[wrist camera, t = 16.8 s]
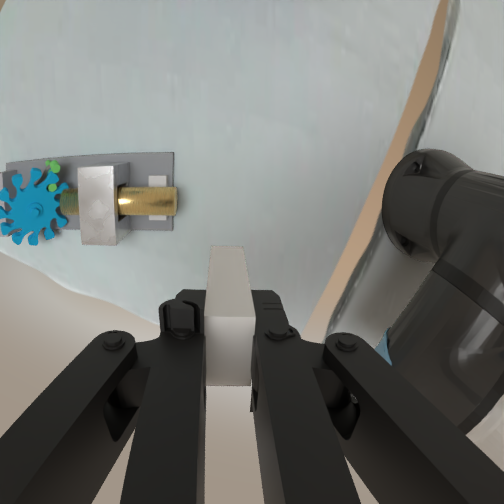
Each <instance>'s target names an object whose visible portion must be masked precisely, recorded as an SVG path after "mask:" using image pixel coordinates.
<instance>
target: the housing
mask: <svg viewBox="0 0 504 504" xmlns="http://www.w3.org/2000/svg"><path fill="white" fill-rule="evenodd" d="M47 160H50V161H53V160H57V161H58V163H59V165H60V171H59V172H58V178H59V181H58V182H57V183H56V186H57V187H58V186H60V185H61V184H62V183H64V182H66V183H67V184H68V187H69V189H70V188H78V169H77V168H78V167H83V166H87V165H92V164H97V163H115V162H130V187H173V162H174V152H165V153H121V154H99V155H83V156H69V157H57V158H47V159H37V160H28V161H19V162H11V163H6V171H4V172H0V191H1V190H2V189H3V188H4V187H6V188H7V189H8V191H9V197H10V198H12V199H13V198H15V197H16V195H17V190H16V187H15V186H14V185H13V183H12V176H14V175H16V174H22V177H23V182H22V184H21V186H20V188H21V189H24V188H26V187H27V185H28V183H29V181H30V177H31V174H30V171H31V169H32V168H38V169H40V170H41V172H42V173H43V171H44V170H45V168H46V164H45V162H46V161H47ZM37 181H38V180H36V181H35V182H34V185H35V184H36V182H37ZM60 196H61V194H56V195H55V196H54V198H56V199H58V200H60ZM0 206H2V207H3V208H4V210H5V211H10V210H11V209H12V208H11V206H10V205H9V204H8V203H6V202H4V201H1V200H0ZM55 211H56V212H57V213H58V214H60V215H63V214H62V212H61V210H60V206H58V207H57V208H56V210H55ZM63 216H65V218H66V220H67V223H66V224H65V225H64V226H63V227H62V228H60V227H58V224H57V222H56V218H53V219H52V220H51V221H50V227H51V228H52V229H80V216H79V215H63ZM2 222H7V223H9V224H11V223H13V222H14V220H12V219H9V218H2V219H0V224H1V223H2ZM42 229H46V227H43V228H42ZM19 230H21V228H19V229H14V230H12V231H10V232H9V233H8V234H7V235H3V234H2V232H1V227H0V237H8V236H10V235H12V234H13V233H15V232H17V231H19ZM131 230H157V231H172V230H173V216H166V215H131Z"/></svg>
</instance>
